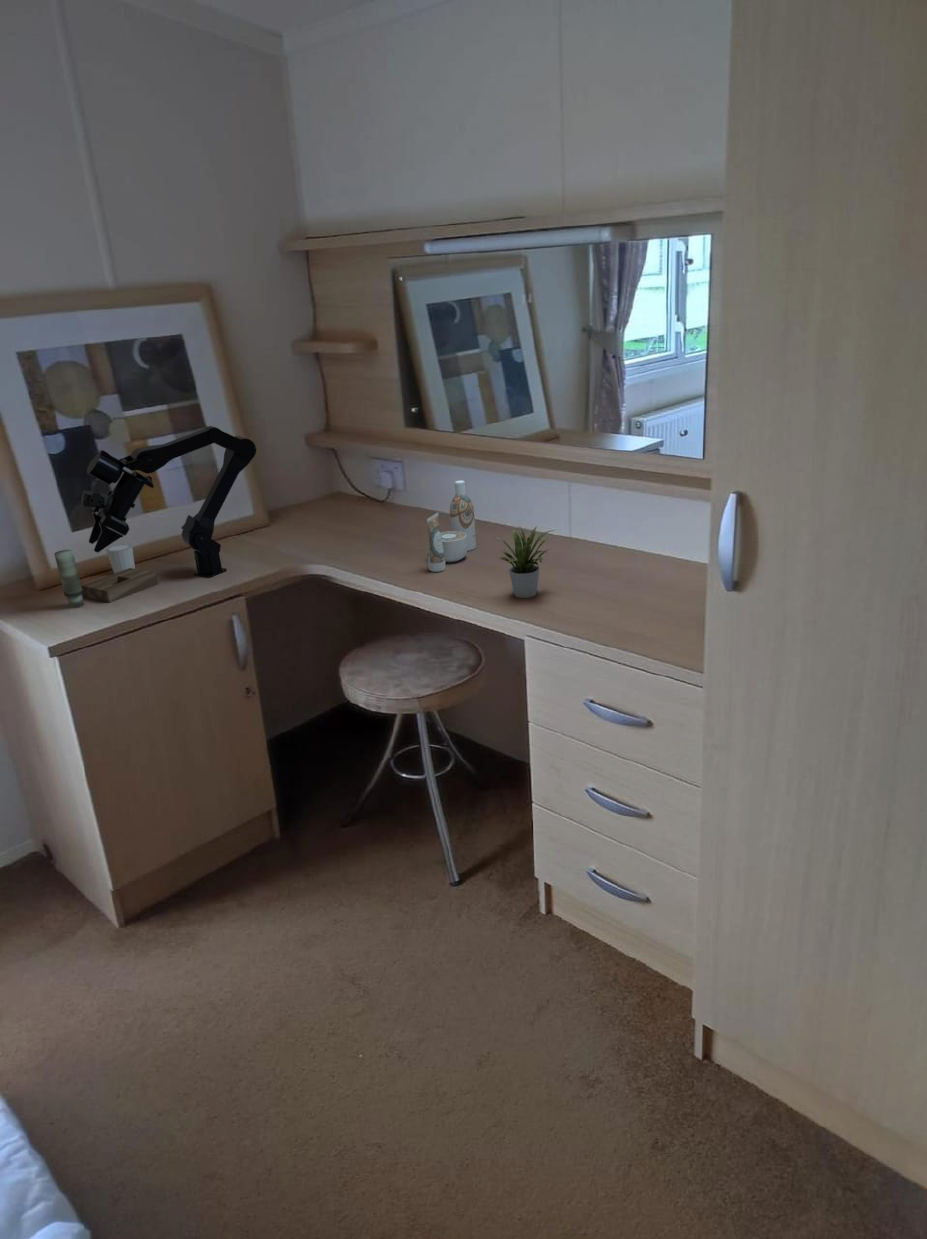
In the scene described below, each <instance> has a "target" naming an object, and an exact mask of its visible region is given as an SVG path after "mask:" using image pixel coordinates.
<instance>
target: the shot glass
mask: <svg viewBox="0 0 927 1239" xmlns="http://www.w3.org/2000/svg"><path fill="white" fill-rule="evenodd" d="M105 550H106V553H107V556H108V559H109V562H110V566H111V569H112V572H113V574H114V573H117V572H120V571H123V570H126V569H128V568H133V569H136V566H135V564H136V563H135V558H134V551H133V550H134V548H133V545H132V544H129V543H127V544H125V543H124V544H116V545H113V546H110V547H109V546H108V548H107V547H106V549H105Z"/></svg>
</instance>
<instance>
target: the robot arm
mask: <svg viewBox="0 0 927 1239" xmlns="http://www.w3.org/2000/svg"><path fill="white" fill-rule="evenodd" d="M212 444H215V445H217V446H219V447H222V448H224V449H225V450H224V453H223V462H222V466H221V468H220V470H219V472H218V474H217V476H216V479H214V482H213V483H212V485H211V488H210V489H209V492H208V493H207V496H206V498H205V499H204V501H203V503H202V505H201V507H200V509H199V511H198V512H197V513H196V514H195V515H194V516H191V515H190V514H188V515H187V516H186V520H185V523H183V525H182V526H181V527H180V529H182V530H181V531H182V532H181V538H182V541H184V543H185V544H186V545H188V546H189V547H191V548H192V550H194V551H193V554H194V560H195V566H196V570H197V571H194V572H193V575H195V576H199V577H204V578H212V577H214V576H217V575H219V574H222V573H224V572H226V571H227V567H222V562H221V556H220V552H221V546H222V545H221V544H220V543H219V542H217V541H216V540H214V539H212V537H213V534H214V529H215V520H216V519H217V516H218V514H219V513H220V511H221V509H222V507H223V505H224V503H225V502H226V499H227V497H228V495H229V494H230V491H231V489H232V487H233V485H234V484H235V482H236V479H237V478H238V476H239V474H240V473H241V472H242V471H243V470H244V469H245V468H246V467H247V466H248V465H249V464H250V462H252V460H253V459H254V457H256V454H257V446H256V444H255V443H254V441H253V440H251V439H249V438H247V437H243V436H240V435H235V436H234V435H231V434H230V433H227V432H226V431H224V430H221V429H220V428H218V427H216V426H213V425H208V426H206V427H205V428H202V429H200V430H197V431H194V432H192V433H189V434H187V435H184V436H182V437H179V438H176V439H172V440H170V441H167V442H166V443H161V444H153V445H147V446H141V447H138V448H135V449H133V450H132V452H131V454H128V455H127V456H124V457H122V458H119V459H118V458H116V457H115V456H112V455H111V454H109V453H108V452H107V451H105V450H103V449H100V450H99V452H98V453H97V454H96V455H95V456H94V457H93V459H91V460H90V461H89V464H88V465H87V468H86V474H88V475H89V476H91V477H93V478H95V479H97V480H99V481H101V482H103V483H104V484H107V485H112V483H113V484H115V486H114V488H113V489H110V490H108V492H107V493H106V494H105V493H100V492H96V491H89V490H82V494H81V499H80V500H81V501H80V504H81V505H82V506H83V507H88V508H89V507H92V508H91V510H92V511H91V515H92V518H93V520H94V522H93V525H92V529H91V533H90V536H89V539H88V543H89V544H91V545H93V544H95V546H94V548H93V551H94V552H95V553H99V552H101V551H103V550H104V549H105V548H106V549H107V547H109V545H110V546H111V544H113V543H114V542H116V541H118V540H119V539H121V538H123V537H125V536H126V535H127V534H128V533H129V531H130V526H129V524H128V523H127V516H128V514H129V512H130V510H131V509H134V508H135V506H136V504H135V502H136V501H137V498H138V497H139V495H140V494H141V492H142V490H143V488H144V487H145V485H146V486H147V487H149V488H151V489H154V488H155V486H154V483H153V479H152V478H153V477H152V476H151V475H149V474H153V473H154V472H157V471H158V470H159V469H161V468H163V467H165V466H166V465H167V464H168V463H169V462H171V461H172V460H174V459H176V458H179V457H181V456H184V455H187V454H189V453H192V452H194V451H197V450H199V449H202V448H206V447H207V446H210V445H212ZM124 468H126V469H128V470H130V472H129V471H128V470H126V469H124ZM131 471H133V472H131ZM138 471H140V472H141V473H143V474H148V475H146V476H145V475H143V474H141V473H139V472H138Z"/></svg>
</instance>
